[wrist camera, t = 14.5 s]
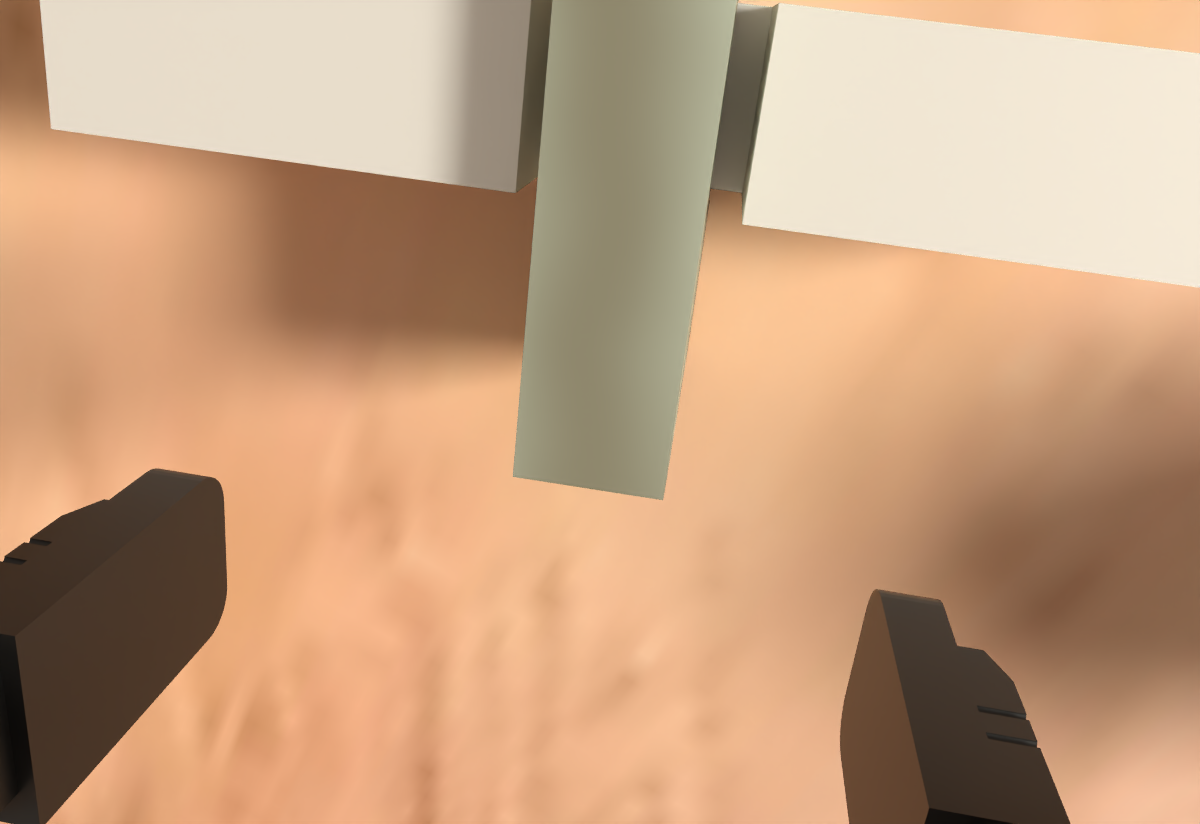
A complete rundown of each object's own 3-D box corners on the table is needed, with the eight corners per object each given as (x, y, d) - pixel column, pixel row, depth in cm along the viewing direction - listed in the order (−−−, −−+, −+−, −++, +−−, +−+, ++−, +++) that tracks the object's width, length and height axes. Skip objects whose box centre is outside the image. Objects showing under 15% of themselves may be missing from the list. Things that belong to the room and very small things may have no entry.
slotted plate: (770, -213, 24) (791, -369, 14) (687, 348, 29) (663, 500, 19) (644, -226, 24) (584, -387, 15) (585, 333, 29) (512, 476, 20)
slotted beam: (1163, 57, 24) (1348, 71, 17) (1114, 219, 26) (1263, 296, 19) (230, -55, 26) (31, -88, 19) (233, 102, 28) (51, 128, 20)
